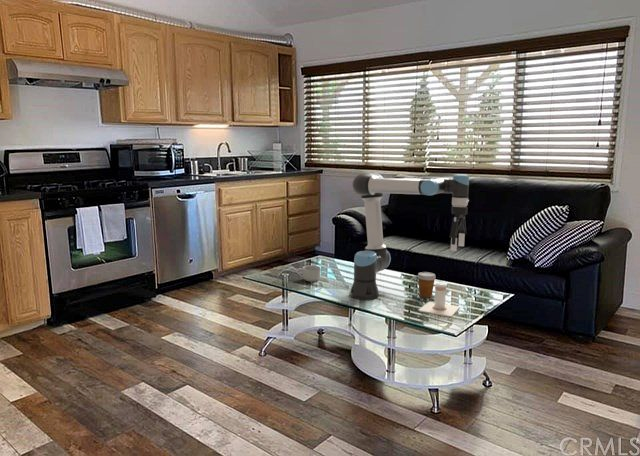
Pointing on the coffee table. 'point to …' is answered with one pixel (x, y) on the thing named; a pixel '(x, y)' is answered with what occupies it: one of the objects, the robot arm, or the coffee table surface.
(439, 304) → the plastic tube
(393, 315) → the coffee table surface
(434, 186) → the robot arm
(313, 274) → the teacup
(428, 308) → the card
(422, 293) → the disposable coffee cup
